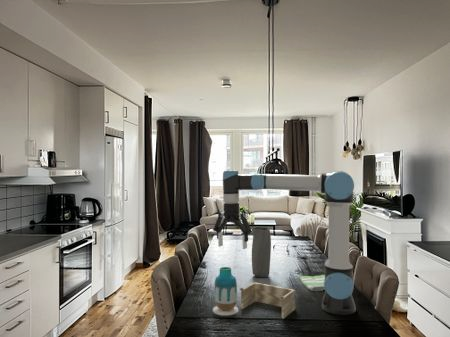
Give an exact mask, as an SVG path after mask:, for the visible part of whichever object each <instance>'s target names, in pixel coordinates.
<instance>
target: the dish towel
mask: <svg viewBox="0 0 450 337" xmlns="http://www.w3.org/2000/svg"><path fill="white" fill-rule="evenodd" d="M298 278H299V280H300V281H301V283H302V284H304V286H305V287H306V288H307V289H308V290H309V291H311V292H323V290H325V287H324V281H325V274H319V275H313V276H311V275H302V276H299V277H298Z"/></svg>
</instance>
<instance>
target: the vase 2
mask: <svg viewBox="0 0 450 337" xmlns="http://www.w3.org/2000/svg"><path fill="white" fill-rule="evenodd" d="M251 231H252V233H251V234H252V242H251V243H252V244H251V270H252V275H253V276H255V277H258V278H268V277H270V270H271V254H272V251H271V250H272V237H271V231H270V228H269V227H265V226H264V227H263V226H256V227H252V228H251Z"/></svg>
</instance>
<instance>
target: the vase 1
mask: <svg viewBox="0 0 450 337" xmlns="http://www.w3.org/2000/svg"><path fill="white" fill-rule="evenodd" d="M237 301H238V285H237V278H236V277H235V276H234V275H233V274H232V267H230V266H222V267H219V274H218V275H217V276H216V277H215V280H214V303H215V305H216V306H217V307H218V308H219V309H221V310H231V309H233V308H234V307H235V306H236V307H237Z"/></svg>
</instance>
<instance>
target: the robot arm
mask: <svg viewBox="0 0 450 337" xmlns="http://www.w3.org/2000/svg"><path fill="white" fill-rule="evenodd" d="M354 189H355V182H354V179H353V177H352V176H351V175H350V174H349V173H348V172H345V171H342V170H341V171H339V170H337V171H336V170H335V171H333V172H327V173H325V172H324V173H323V172H322V173H320V174H319V175H314V174H308V175H307V174H280V173H279V174H274V173H273V174H271V173H245V174H244V173H243V174H242V173H241V174H240V173H239V170H236V169H235V170H224V171H223V172H222V195H223V199H222V200H223V211H224V212H223V211H222V212H218V214H217V219H216V222H215V223H214V227H213V232H216V238H217V241H218V242H217V245H218V247H220V248H221V247H222V246H224V241H223V239H224V238H223V237H224V234H223V233H224V232H223V229H224V228H225V226H226V225H227V224H228V223H235V224H236V226H237V228H239V229H240V230H241V232H242V235H241V236H242V238H241V239H242V241H241V242H242V249H243V250H245V249H248V242H249V235H250V234H253V233H252V228H251V227H250V224H249V222H248V220H247V219H248V218H247V217H246V213H245V212H242V213H240V202H239V201H240V192H239V191H259V190H260V191H261V190H277V191H279V190H281V191H284V190H285V191H304V192H305V191H306V192H307V191H308V192H319V193H320V194H324V202H325V204H326V205H327V206H328V230H327V231H328V234H327V235H328V236H327V237H328V243H327V245H328V254H327V256H328V257H327V258H328V259H326V260H325V261H324V275H325V281H324V287H325V291H324V295H323V296H322V301H321V309H322V310H323V311H325V312H327V313H329V314H333V315H338V316H341V315H342V316H348V315H352V314H354V313H355V312H357V311H356V310H357V308H356V303H355V300H354V297H353V295H352V294H353V291H354V289H355V288H354V287H355V285H354V274H353V273H354V271H353V270H354V266H353V264H351V261H350V206H352V205H353V203H354Z"/></svg>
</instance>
